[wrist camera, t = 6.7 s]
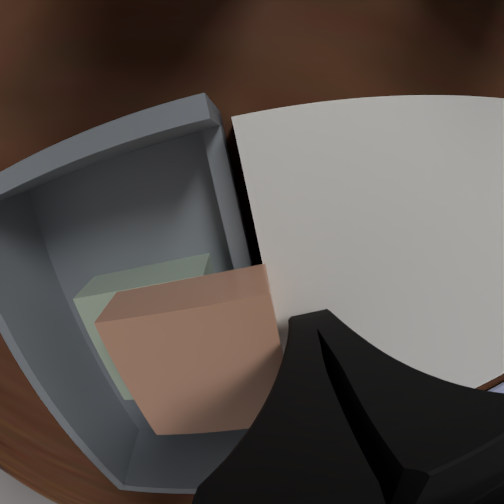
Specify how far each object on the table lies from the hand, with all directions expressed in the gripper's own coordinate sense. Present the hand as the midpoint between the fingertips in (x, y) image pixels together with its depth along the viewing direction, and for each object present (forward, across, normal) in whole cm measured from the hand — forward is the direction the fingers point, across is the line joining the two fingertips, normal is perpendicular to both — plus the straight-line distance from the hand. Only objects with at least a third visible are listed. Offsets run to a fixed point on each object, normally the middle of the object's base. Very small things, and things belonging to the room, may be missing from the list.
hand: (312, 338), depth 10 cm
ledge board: (+3, -6, 0) cm, 7 cm away
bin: (+3, +6, 0) cm, 7 cm away
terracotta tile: (+1, +4, 0) cm, 4 cm away
